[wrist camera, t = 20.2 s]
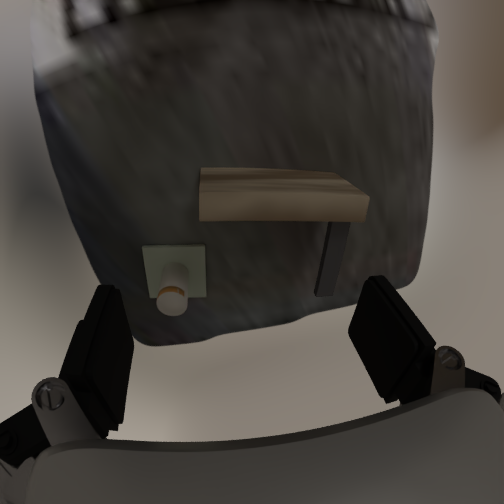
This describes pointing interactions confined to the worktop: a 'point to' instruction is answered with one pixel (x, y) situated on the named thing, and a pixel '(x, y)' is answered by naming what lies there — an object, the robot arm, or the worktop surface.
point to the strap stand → (278, 196)
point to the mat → (184, 254)
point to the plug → (173, 289)
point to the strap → (331, 258)
